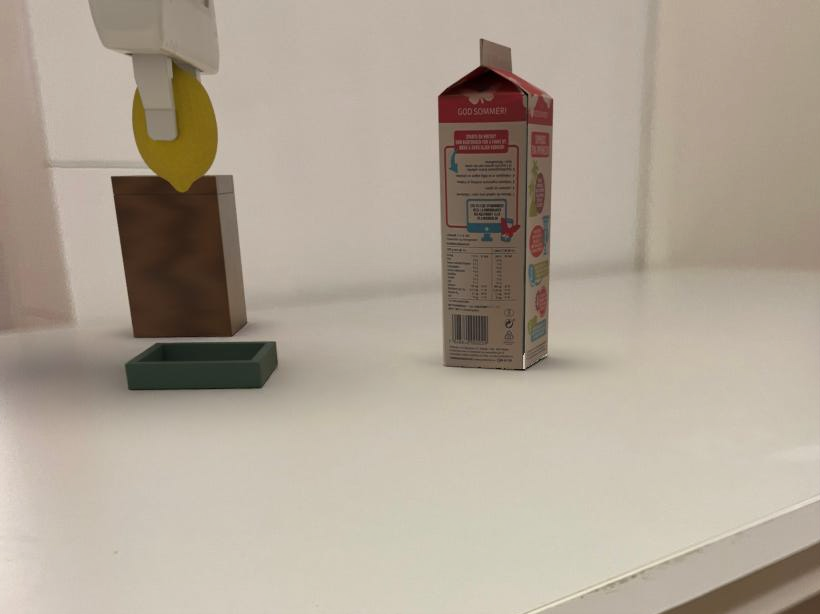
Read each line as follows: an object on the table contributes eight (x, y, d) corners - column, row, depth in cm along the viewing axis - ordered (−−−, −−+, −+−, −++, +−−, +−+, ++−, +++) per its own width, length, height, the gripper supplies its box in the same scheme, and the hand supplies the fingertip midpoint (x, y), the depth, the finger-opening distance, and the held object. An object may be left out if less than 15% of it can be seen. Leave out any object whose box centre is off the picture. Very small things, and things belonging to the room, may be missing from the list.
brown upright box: (133, 337, 93) (110, 176, 87) (156, 323, 101) (136, 175, 95) (232, 336, 93) (215, 175, 88) (247, 322, 101) (232, 174, 96)
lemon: (133, 191, 71) (117, 61, 68) (212, 191, 73) (200, 65, 70) (149, 193, 67) (132, 54, 63) (232, 193, 69) (220, 59, 66)
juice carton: (443, 365, 79) (436, 40, 70) (471, 351, 85) (468, 49, 75) (524, 370, 77) (528, 36, 68) (547, 355, 83) (554, 46, 73)
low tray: (128, 389, 71) (124, 363, 70) (159, 366, 79) (155, 342, 78) (261, 387, 71) (258, 361, 70) (278, 364, 80) (276, 341, 79)
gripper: (140, -72, 72) (164, 144, 78) (43, -154, 53) (84, 137, 59) (229, -70, 72) (246, 145, 78) (164, -151, 54) (193, 139, 60)
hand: (176, 141), depth 69 cm, fingers closed on lemon, 5 cm apart
